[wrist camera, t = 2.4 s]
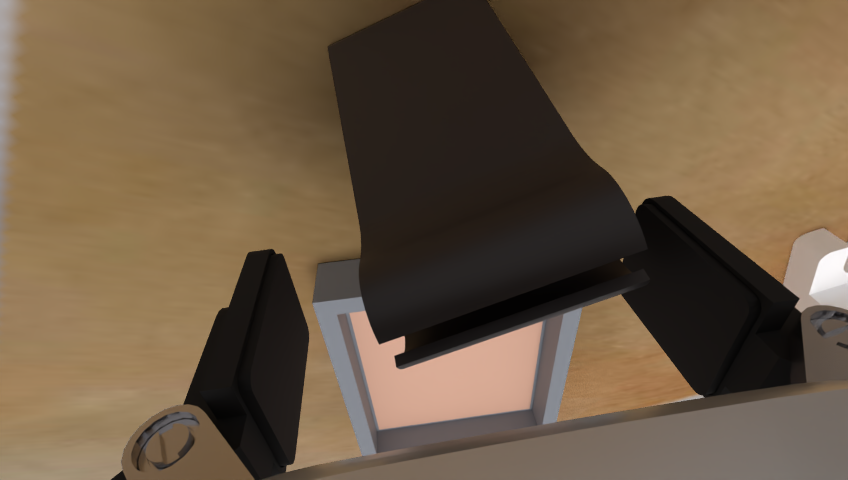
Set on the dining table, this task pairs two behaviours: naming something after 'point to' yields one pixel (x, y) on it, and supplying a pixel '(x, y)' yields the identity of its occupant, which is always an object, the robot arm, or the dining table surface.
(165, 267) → the dining table surface
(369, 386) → the grey tray
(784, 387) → the robot arm
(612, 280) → the phone stand
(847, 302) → the cable organizer
